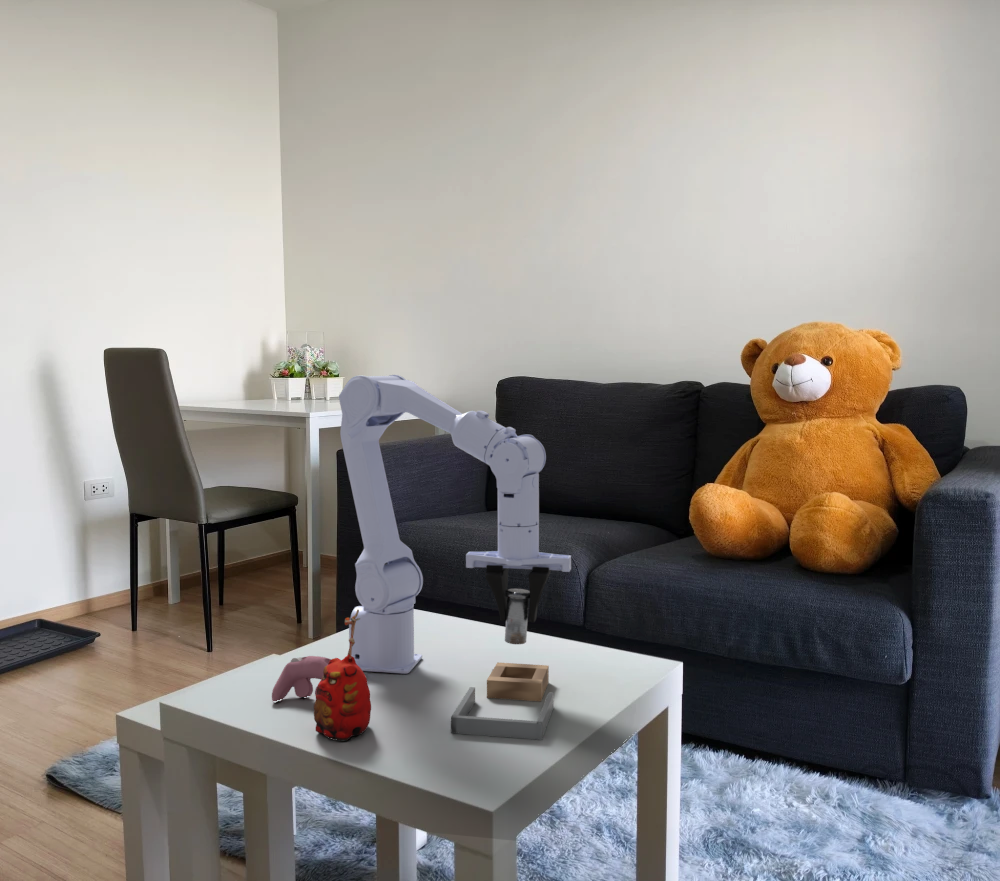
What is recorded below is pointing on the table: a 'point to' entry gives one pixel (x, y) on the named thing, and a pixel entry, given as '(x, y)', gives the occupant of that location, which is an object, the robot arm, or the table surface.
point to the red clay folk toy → (343, 696)
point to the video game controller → (299, 676)
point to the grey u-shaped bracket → (499, 721)
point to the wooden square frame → (518, 681)
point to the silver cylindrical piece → (516, 615)
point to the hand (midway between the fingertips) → (518, 619)
